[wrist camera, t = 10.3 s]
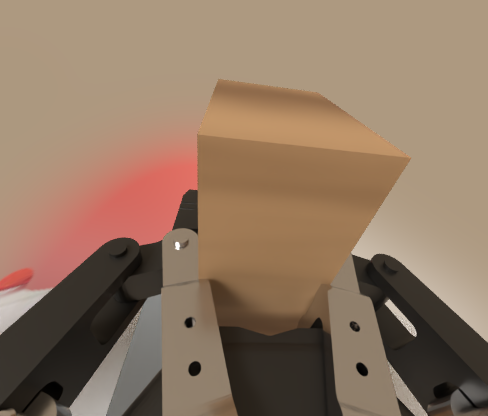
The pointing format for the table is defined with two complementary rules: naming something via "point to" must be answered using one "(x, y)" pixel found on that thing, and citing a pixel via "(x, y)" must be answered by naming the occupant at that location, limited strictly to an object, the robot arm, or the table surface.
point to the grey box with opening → (140, 358)
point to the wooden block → (282, 199)
